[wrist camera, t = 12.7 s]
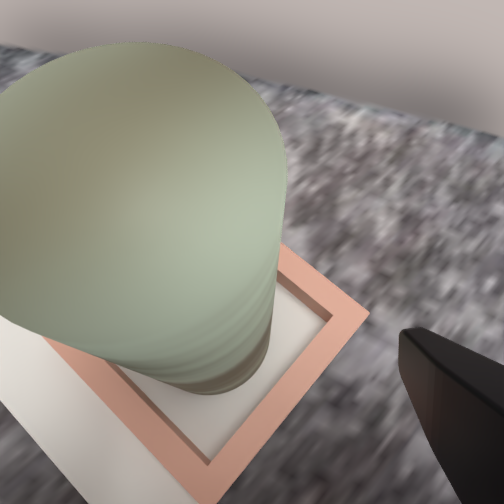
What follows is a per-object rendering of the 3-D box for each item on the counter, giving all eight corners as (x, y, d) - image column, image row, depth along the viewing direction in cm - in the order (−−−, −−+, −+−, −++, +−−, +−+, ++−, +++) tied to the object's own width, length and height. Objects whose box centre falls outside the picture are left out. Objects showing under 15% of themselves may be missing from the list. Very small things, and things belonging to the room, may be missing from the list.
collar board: (356, 326, 19) (370, 313, 17) (159, 570, 16) (142, 595, 14) (166, 170, 22) (154, 141, 20) (-31, 350, 19) (-72, 340, 17)
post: (294, 326, 18) (357, 156, 6) (212, 423, 17) (101, 430, 5) (208, 252, 19) (127, -2, 8) (125, 337, 18) (-124, 185, 6)
